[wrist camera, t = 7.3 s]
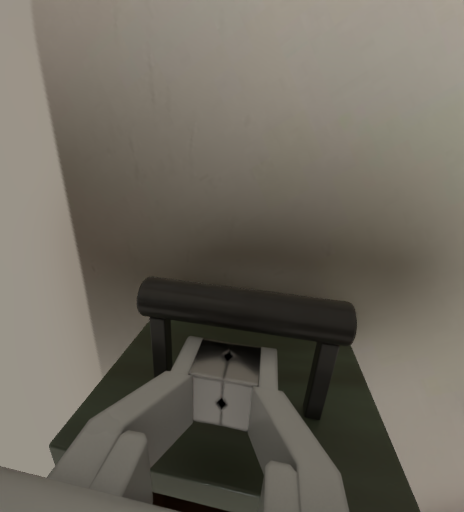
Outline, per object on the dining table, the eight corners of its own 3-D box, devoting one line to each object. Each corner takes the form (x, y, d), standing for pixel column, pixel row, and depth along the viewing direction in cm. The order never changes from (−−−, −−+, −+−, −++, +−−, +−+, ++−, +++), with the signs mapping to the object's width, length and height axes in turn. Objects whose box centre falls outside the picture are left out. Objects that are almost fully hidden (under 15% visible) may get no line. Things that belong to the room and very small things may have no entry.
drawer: (151, 235, 13) (4, 317, 6) (372, 258, 12) (524, 404, 5) (165, 452, 20) (102, 615, 13) (308, 485, 18) (330, 692, 11)
